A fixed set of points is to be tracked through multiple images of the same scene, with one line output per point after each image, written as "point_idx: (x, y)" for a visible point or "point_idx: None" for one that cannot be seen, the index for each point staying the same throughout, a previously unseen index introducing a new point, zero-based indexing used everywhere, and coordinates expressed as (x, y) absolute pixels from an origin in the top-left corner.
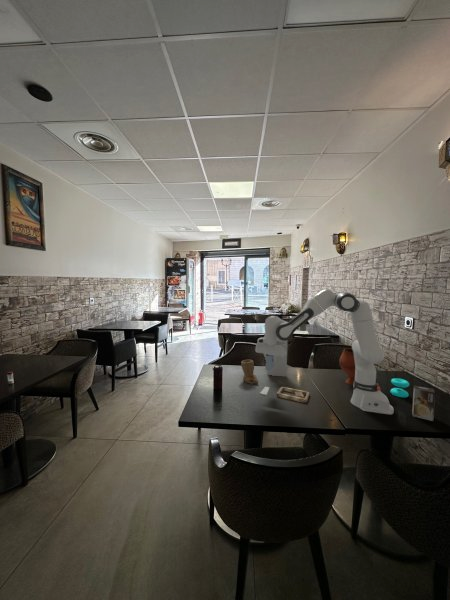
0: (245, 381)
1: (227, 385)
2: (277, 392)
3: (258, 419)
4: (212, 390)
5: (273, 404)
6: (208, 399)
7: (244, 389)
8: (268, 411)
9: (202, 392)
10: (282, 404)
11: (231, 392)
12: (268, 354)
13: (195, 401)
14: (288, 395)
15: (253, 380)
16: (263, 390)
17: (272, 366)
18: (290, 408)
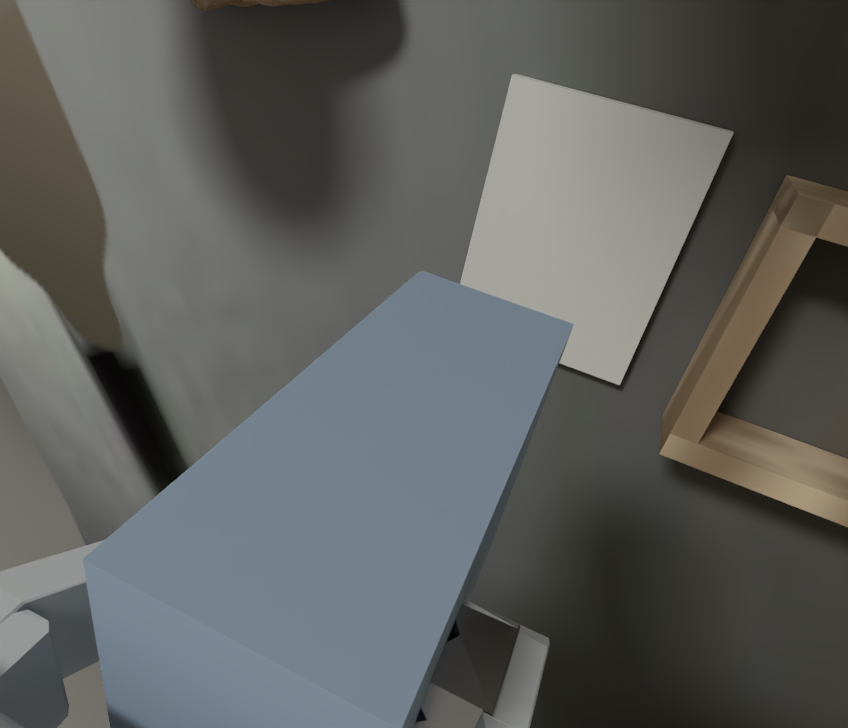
0: (205, 10)
1: (87, 156)
2: (672, 433)
3: None
4: (49, 306)
5: (610, 532)
6: (109, 455)
7: (271, 224)
8: (555, 628)
9: (18, 353)
10: (716, 535)
11: (189, 322)
12: (110, 696)
13: (66, 482)
14: (835, 512)
15: (294, 3)
16: (490, 236)
17: (503, 507)
18: (796, 608)
